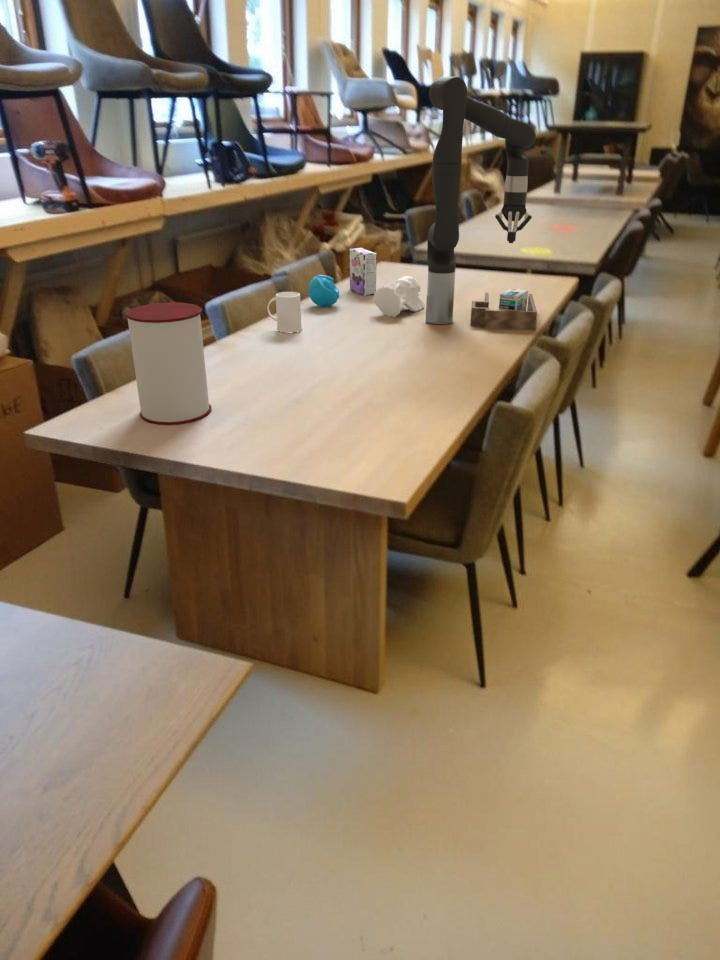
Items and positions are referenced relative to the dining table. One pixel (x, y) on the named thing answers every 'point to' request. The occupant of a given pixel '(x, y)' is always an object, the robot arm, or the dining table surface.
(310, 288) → the sphere
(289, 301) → the mug
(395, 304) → the cherub figurine
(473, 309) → the wooden tray
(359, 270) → the candy box
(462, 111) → the robot arm
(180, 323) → the container
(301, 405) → the dining table surface
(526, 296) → the light bulb box
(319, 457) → the dining table surface
